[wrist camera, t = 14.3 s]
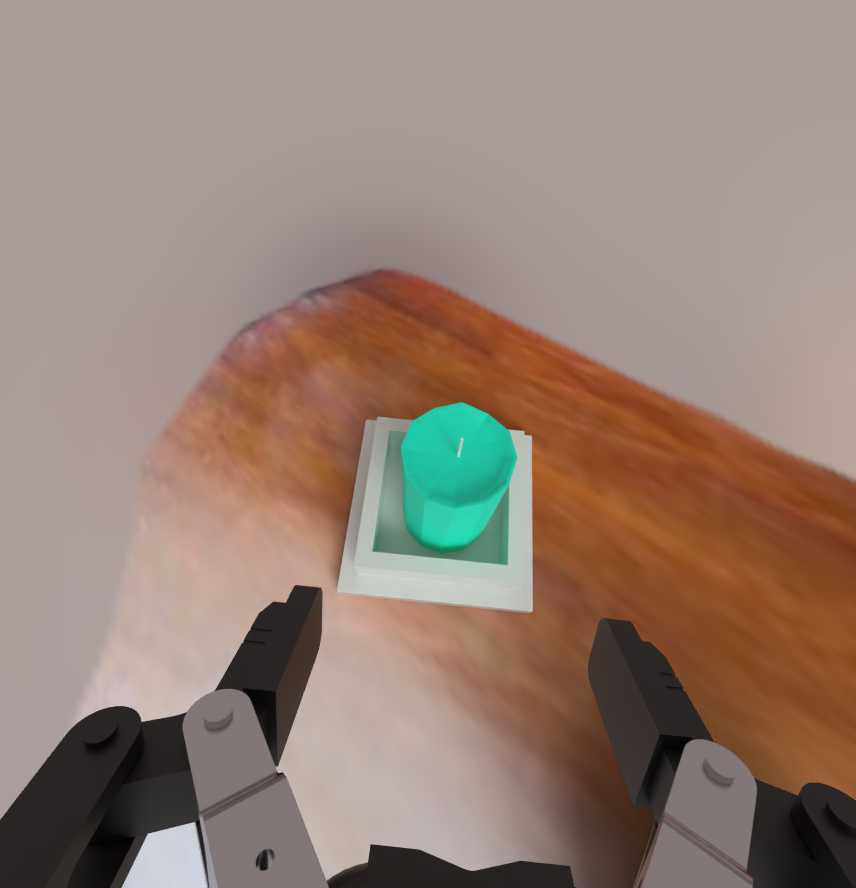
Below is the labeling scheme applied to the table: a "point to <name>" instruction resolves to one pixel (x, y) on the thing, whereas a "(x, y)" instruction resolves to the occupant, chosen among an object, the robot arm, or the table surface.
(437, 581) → the candle stand
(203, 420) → the table surface
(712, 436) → the table surface
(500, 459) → the candle
